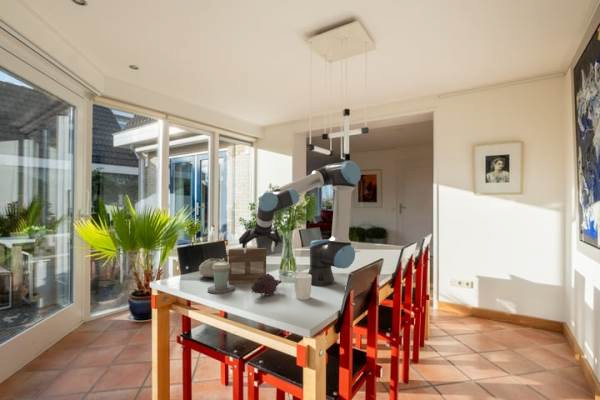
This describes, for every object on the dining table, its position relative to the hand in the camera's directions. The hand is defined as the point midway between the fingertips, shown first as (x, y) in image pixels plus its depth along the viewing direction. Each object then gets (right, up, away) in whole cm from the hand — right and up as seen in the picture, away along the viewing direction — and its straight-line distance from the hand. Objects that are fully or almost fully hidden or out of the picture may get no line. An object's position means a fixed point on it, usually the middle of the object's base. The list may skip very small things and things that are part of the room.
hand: (258, 250), depth 148 cm
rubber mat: (-18, -19, -1) cm, 27 cm away
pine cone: (+4, -20, -8) cm, 22 cm away
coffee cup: (-19, -19, -1) cm, 26 cm away
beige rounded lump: (-29, -20, +25) cm, 43 cm away
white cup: (+22, -20, -11) cm, 32 cm away
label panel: (-8, -20, +14) cm, 26 cm away
